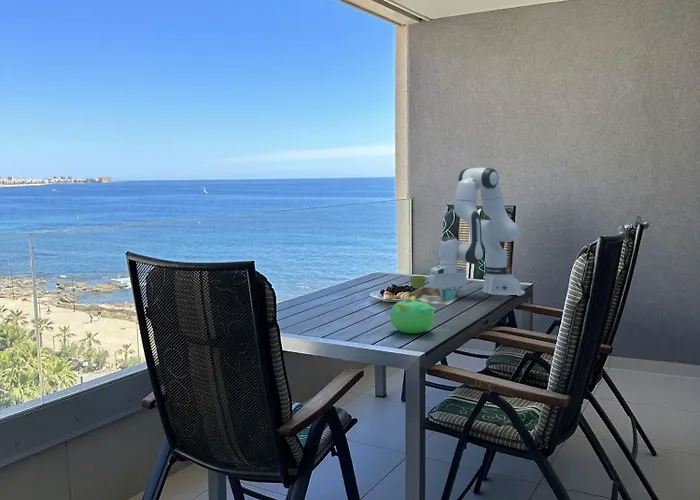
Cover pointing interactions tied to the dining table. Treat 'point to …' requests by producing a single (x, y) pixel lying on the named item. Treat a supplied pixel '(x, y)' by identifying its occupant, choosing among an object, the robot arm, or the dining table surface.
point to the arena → (431, 295)
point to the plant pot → (417, 281)
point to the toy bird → (412, 315)
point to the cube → (448, 294)
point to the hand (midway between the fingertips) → (447, 295)
